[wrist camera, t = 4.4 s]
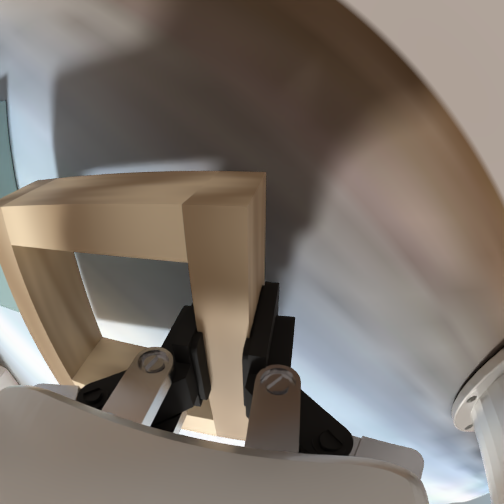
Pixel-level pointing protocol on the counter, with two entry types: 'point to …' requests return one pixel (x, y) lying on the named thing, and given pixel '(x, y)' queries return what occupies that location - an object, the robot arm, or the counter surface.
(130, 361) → the ring
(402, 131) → the counter surface
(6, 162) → the lid with knob
